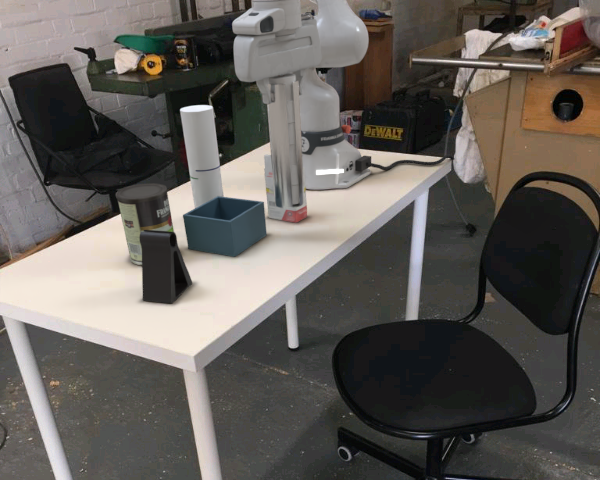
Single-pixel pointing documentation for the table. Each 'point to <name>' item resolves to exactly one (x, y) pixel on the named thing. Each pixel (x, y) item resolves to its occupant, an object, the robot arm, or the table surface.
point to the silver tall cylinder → (286, 141)
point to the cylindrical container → (202, 153)
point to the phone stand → (162, 267)
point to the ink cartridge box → (273, 210)
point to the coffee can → (143, 214)
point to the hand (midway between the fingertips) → (282, 99)
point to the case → (225, 225)
